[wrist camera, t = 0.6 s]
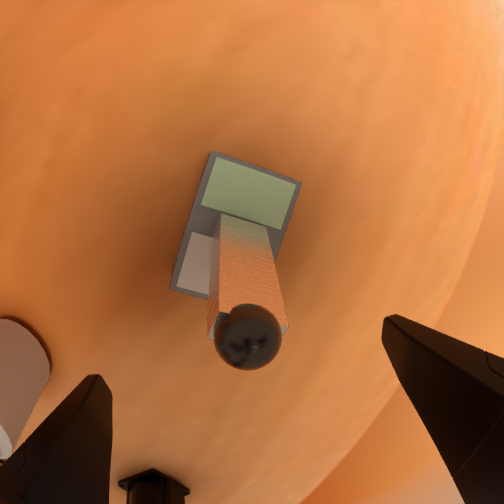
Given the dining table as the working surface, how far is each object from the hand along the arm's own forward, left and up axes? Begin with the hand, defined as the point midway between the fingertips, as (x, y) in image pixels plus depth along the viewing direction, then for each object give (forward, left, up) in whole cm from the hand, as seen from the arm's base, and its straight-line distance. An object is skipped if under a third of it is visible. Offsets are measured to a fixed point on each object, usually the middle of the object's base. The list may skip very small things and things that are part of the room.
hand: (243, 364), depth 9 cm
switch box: (+2, +1, -14) cm, 15 cm away
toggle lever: (+2, +1, -11) cm, 11 cm away
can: (-20, +3, -15) cm, 25 cm away
